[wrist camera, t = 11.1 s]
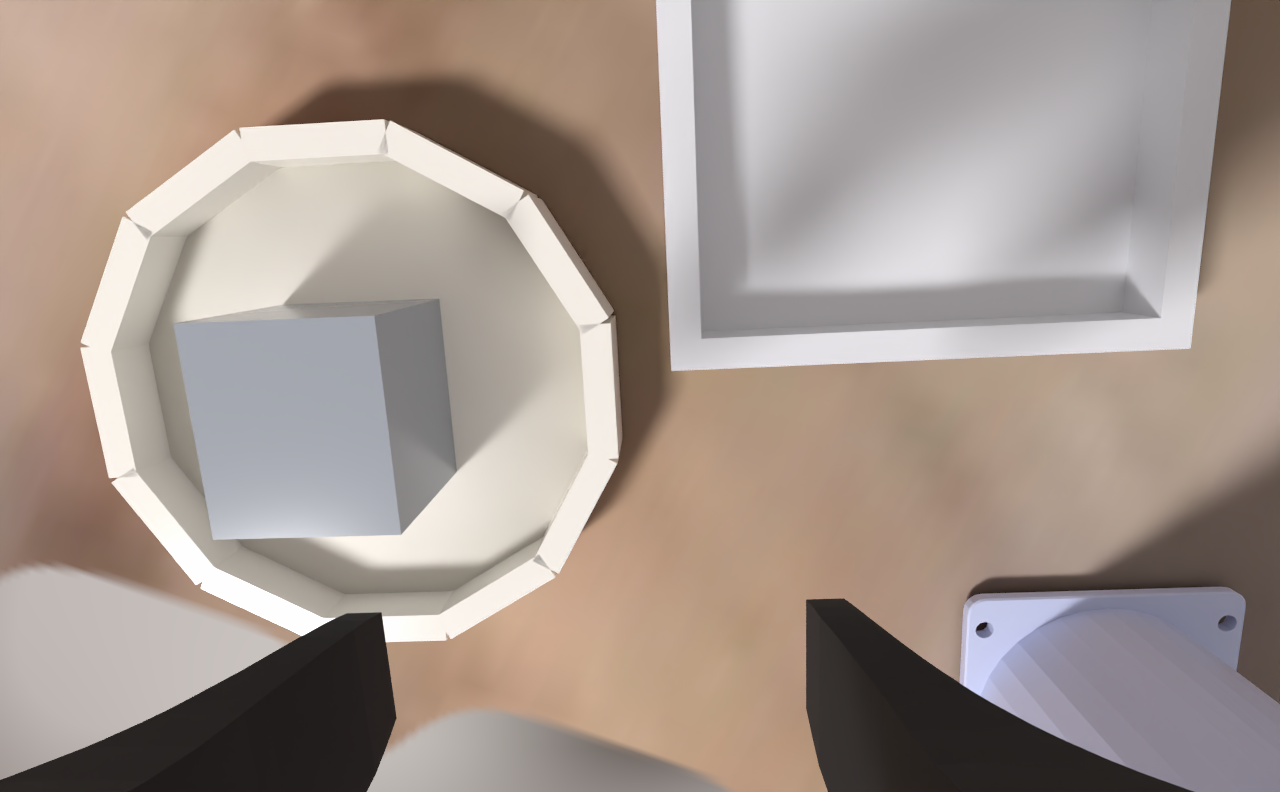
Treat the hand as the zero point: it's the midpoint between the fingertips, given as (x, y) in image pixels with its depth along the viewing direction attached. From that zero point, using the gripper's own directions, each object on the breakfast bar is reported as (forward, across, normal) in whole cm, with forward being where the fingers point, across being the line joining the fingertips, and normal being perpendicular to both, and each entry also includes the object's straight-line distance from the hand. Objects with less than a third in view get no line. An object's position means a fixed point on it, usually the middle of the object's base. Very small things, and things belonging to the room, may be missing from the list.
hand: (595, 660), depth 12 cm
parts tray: (+9, -8, -10) cm, 16 cm away
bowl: (+9, +7, -3) cm, 12 cm away
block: (+9, +7, -3) cm, 12 cm away
